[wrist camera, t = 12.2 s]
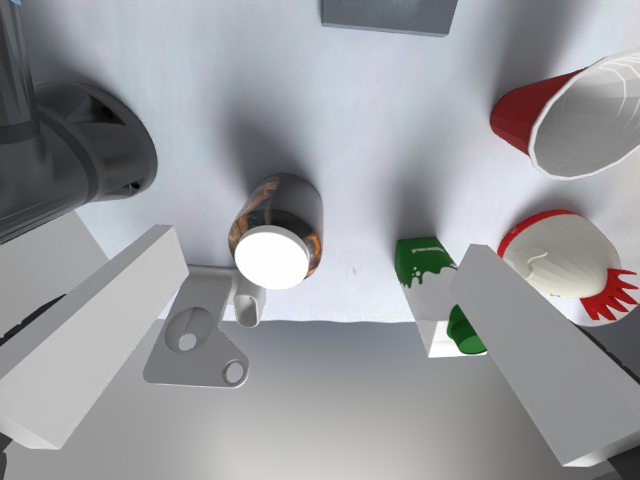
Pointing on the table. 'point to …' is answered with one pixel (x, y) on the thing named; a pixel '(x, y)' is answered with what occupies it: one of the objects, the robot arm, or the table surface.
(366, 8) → the stand
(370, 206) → the table surface
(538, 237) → the chicken hat
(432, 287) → the milk carton
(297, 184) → the jar
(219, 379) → the phone holder
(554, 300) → the table surface
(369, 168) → the table surface
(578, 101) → the plastic cup
